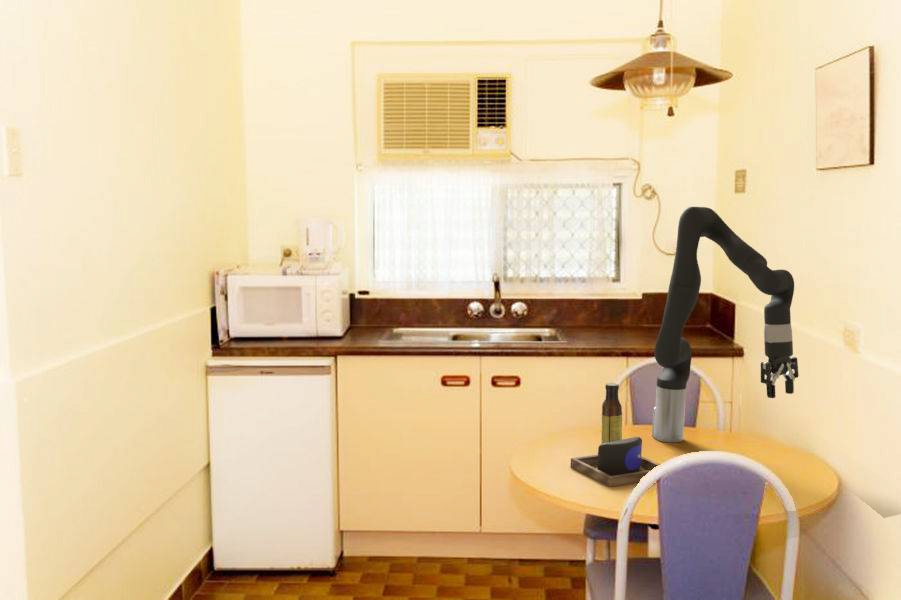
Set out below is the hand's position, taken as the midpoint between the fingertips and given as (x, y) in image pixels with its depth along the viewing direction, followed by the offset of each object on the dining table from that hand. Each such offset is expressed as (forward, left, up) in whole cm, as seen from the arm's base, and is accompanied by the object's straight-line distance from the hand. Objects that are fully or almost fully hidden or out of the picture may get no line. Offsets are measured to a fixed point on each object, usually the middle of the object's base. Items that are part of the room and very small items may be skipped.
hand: (780, 395), depth 242 cm
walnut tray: (-15, -45, -22) cm, 52 cm away
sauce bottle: (-36, -32, -22) cm, 53 cm away
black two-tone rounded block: (-15, -45, -22) cm, 52 cm away
